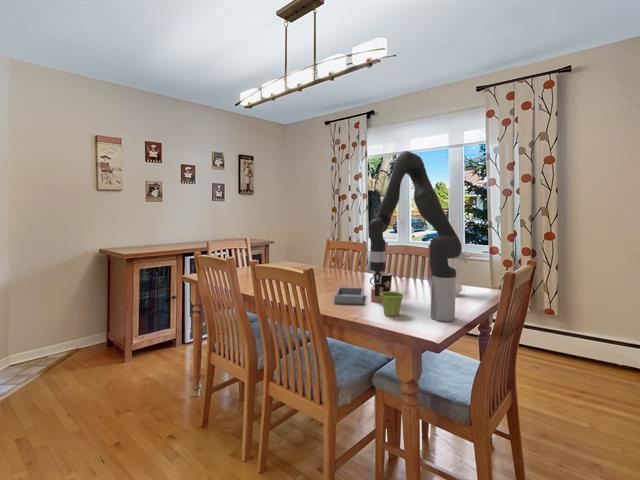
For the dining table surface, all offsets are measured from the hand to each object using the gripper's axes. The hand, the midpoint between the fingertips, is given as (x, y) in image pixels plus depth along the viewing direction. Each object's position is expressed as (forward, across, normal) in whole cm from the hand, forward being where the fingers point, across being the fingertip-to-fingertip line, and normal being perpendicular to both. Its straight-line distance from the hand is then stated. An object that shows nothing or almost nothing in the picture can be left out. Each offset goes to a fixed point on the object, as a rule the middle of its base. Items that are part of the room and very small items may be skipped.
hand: (377, 293), depth 170 cm
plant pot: (+3, -22, -6) cm, 24 cm away
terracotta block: (+3, -1, 0) cm, 3 cm away
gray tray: (+3, -1, +13) cm, 13 cm away
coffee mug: (+4, +15, -2) cm, 16 cm away
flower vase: (+3, +18, -38) cm, 42 cm away
